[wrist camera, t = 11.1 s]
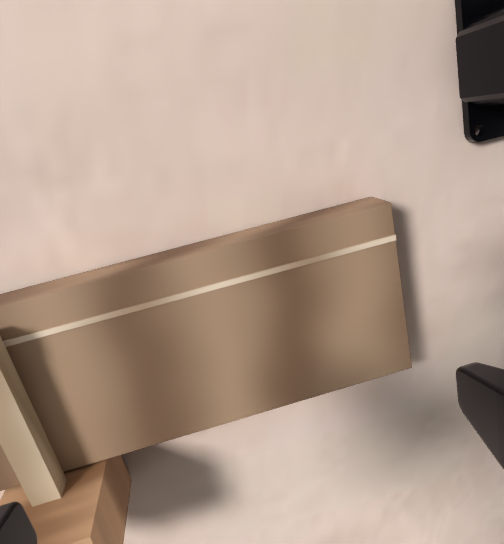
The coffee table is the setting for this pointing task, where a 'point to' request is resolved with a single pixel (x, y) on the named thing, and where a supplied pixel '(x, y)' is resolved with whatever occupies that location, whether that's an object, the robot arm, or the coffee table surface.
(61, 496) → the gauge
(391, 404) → the coffee table surface
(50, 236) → the coffee table surface
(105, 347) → the board
